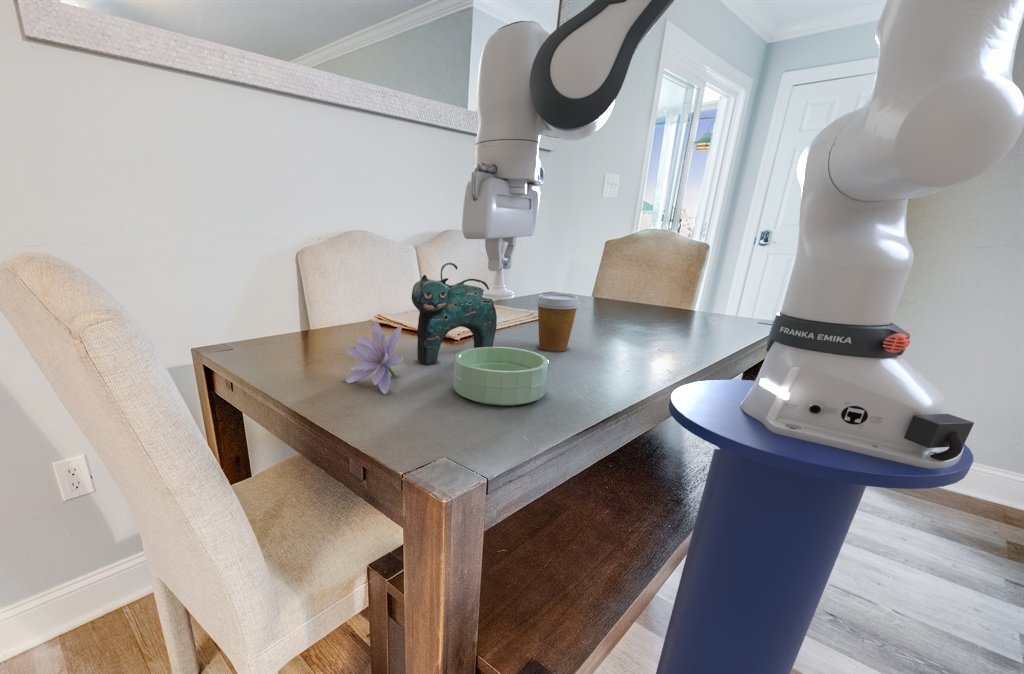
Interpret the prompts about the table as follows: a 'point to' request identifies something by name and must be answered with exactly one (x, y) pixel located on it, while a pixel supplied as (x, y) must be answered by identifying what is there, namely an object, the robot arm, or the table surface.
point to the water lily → (375, 357)
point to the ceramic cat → (451, 314)
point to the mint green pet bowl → (500, 375)
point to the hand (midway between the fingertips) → (499, 269)
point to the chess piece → (499, 282)
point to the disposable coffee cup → (555, 320)
